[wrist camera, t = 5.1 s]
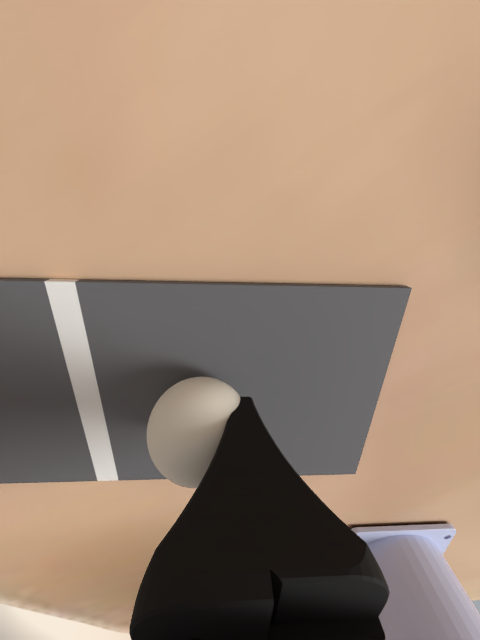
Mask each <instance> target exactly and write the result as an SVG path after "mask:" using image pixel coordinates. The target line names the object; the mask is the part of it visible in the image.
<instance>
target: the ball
mask: <svg viewBox="0 0 480 640" xmlns="http://www.w3.org/2000/svg"><path fill="white" fill-rule="evenodd" d="M239 403H240V395H239V394H238V393H237V392H236V391H235V390H234V389H233V388H232V387H231V386H229V385H228V384H226V383H225V382H223V381H220V380H218V379H215V378H211V377H193V378H188V379H185V380H182V381H180V382H178V383H176V384H175V385H173V386H172V387H170V388H169V389H168V390H167V391H166V392H165V393H164V394H163V395H162V396H161V397H160V398H159V400H158V401H157V403H156V404H155V406H154V408H153V410H152V412H151V415H150V417H149V421H148V426H147V446H148V451H149V454H150V456H151V459H152V461H153V463H154V465H155V466H156V468H157V469H158V470H159V471H160V473H161V474H162V475H163V476H164V477H166V478H167V479H168V480H170V481H171V482H173V483H175V484H177V485H180V486H183V487H187V488H198V486H199V484H200V482H201V480H202V478H203V477H204V475H205V473H206V471H207V469H208V467H209V465H210V463H211V461H212V459H213V457H214V454H215V452H216V450H217V447H218V445H219V442H220V440H221V437H222V435H223V432H224V429H225V426H226V423H227V420H228V418H229V416H230V415H231V413H232V412H233V411H234V410H235V409H236V408H237V407H238V405H239Z"/></svg>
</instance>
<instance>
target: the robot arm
mask: <svg viewBox="0 0 480 640" xmlns="http://www.w3.org/2000/svg"><path fill="white" fill-rule="evenodd" d="M455 533H456V529H455V528H454V527H453V525H452V524H424V525H399V526H374V527H355V528H352V529H350V528H349V527H348V526H347V525H346V524H345V523H344V522H342V521H341V520H340V519H339V518H338V517H337V516H336V515H335V514H334V513H333V512H332V511H331V510H330V509H329V508H328V507H327V506H326V505H325V504H324V503H323V502H322V501H321V500H320V498H319V497H318V496H317V495H316V494H315V493H314V492H313V491H312V490H311V489H310V488H309V487H308V485H307V484H306V483H305V482H304V481H303V480H302V478H301V477H300V476H299V475H298V474H297V472H296V471H295V470H294V469H293V467H292V466H291V465H290V463H289V462H288V461H287V459H286V458H285V457H284V455H283V454H282V452H281V451H280V449H279V448H278V446H277V445H276V443H275V442H274V440H273V439H272V437H271V435H270V434H269V432H268V430H267V428H266V427H265V425H264V423H263V421H262V419H261V417H260V415H259V413H258V411H257V409H256V407H255V405H254V402H253V399H252V398H251V397H240V403H239V405H238V407H237V408H236V409H235V410H234V411H233V412H232V413H231V415H230V416H229V418H228V420H227V423H226V426H225V429H224V432H223V435H222V437H221V440H220V442H219V445H218V447H217V450H216V452H215V454H214V457H213V459H212V461H211V463H210V465H209V467H208V469H207V471H206V473H205V475H204V477H203V478H202V480H201V482H200V484H199V486H198V488H197V489H196V491H195V493H194V494H193V496H192V498H191V499H190V501H189V502H188V504H187V505H186V507H185V509H184V510H183V512H182V513H181V515H180V516H179V518H178V519H177V521H176V522H175V524H174V525H173V526H172V528H171V529H170V531H169V532H168V533H167V535H166V536H165V537H164V539H163V540H162V541H161V543H160V544H159V546H158V547H157V548H156V550H155V552H154V554H153V556H152V559H151V561H150V563H149V565H148V568H147V570H146V572H145V575H144V577H143V580H142V583H141V585H140V588H139V591H138V594H137V598H136V601H135V606H134V610H133V615H132V619H131V624H130V636H131V639H132V640H480V614H479V612H478V611H477V609H476V608H475V606H474V604H473V603H472V601H471V600H470V598H469V596H468V595H467V593H466V592H465V590H464V588H463V587H462V585H461V584H460V582H459V580H458V579H457V577H456V576H455V574H454V572H453V571H452V569H451V568H450V566H449V564H448V563H447V561H446V560H445V558H444V556H443V553H444V552H445V550H446V548H447V547H448V545H449V543H450V542H451V540H452V538H453V537H454V535H455Z"/></svg>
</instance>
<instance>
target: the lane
mask: <svg viewBox="0 0 480 640" xmlns="http://www.w3.org/2000/svg"><path fill="white" fill-rule="evenodd" d="M411 289H412V288H410V287H408V286H392V285H340V284H288V283H236V282H184V281H132V280H80V279H28V278H0V484H1V483H38V482H75V481H112V480H149V479H167V478H166V477H164V476H163V475H162V474H161V473H160V471H159V470H158V469H157V468H156V466H155V465H154V463H153V461H152V459H151V456H150V454H149V451H148V446H147V426H148V421H149V417H150V415H151V412H152V410H153V408H154V406H155V404H156V403H157V401H158V400H159V398H160V397H161V396H162V395H163V394H164V393H165V392H166V391H167V390H168V389H169V388H170V387H172V386H173V385H175V384H176V383H178V382H180V381H182V380H185V379H188V378H193V377H211V378H215V379H218V380H220V381H223V382H225V383H226V384H228V385H229V386H231V387H232V388H233V389H234V390H235V391H236V392H237V393H238V394H239V395H240V397H251V398H252V399H253V402H254V405H255V407H256V409H257V411H258V413H259V415H260V417H261V419H262V421H263V423H264V425H265V427H266V428H267V430H268V432H269V434H270V435H271V437H272V439H273V440H274V442H275V443H276V445H277V446H278V448H279V449H280V451H281V452H282V454H283V455H284V457H285V458H286V459H287V461H288V462H289V463H290V465H291V466H292V467H293V469H294V470H295V471H296V472H297V474H298V475H335V474H355V473H356V470H357V467H358V464H359V460H360V457H361V454H362V450H363V447H364V444H365V440H366V437H367V434H368V431H369V427H370V424H371V421H372V417H373V414H374V411H375V407H376V404H377V401H378V398H379V394H380V391H381V388H382V384H383V381H384V378H385V374H386V371H387V368H388V364H389V361H390V358H391V355H392V351H393V348H394V345H395V341H396V338H397V335H398V331H399V328H400V325H401V322H402V318H403V315H404V312H405V308H406V305H407V302H408V298H409V295H410V292H411Z"/></svg>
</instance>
